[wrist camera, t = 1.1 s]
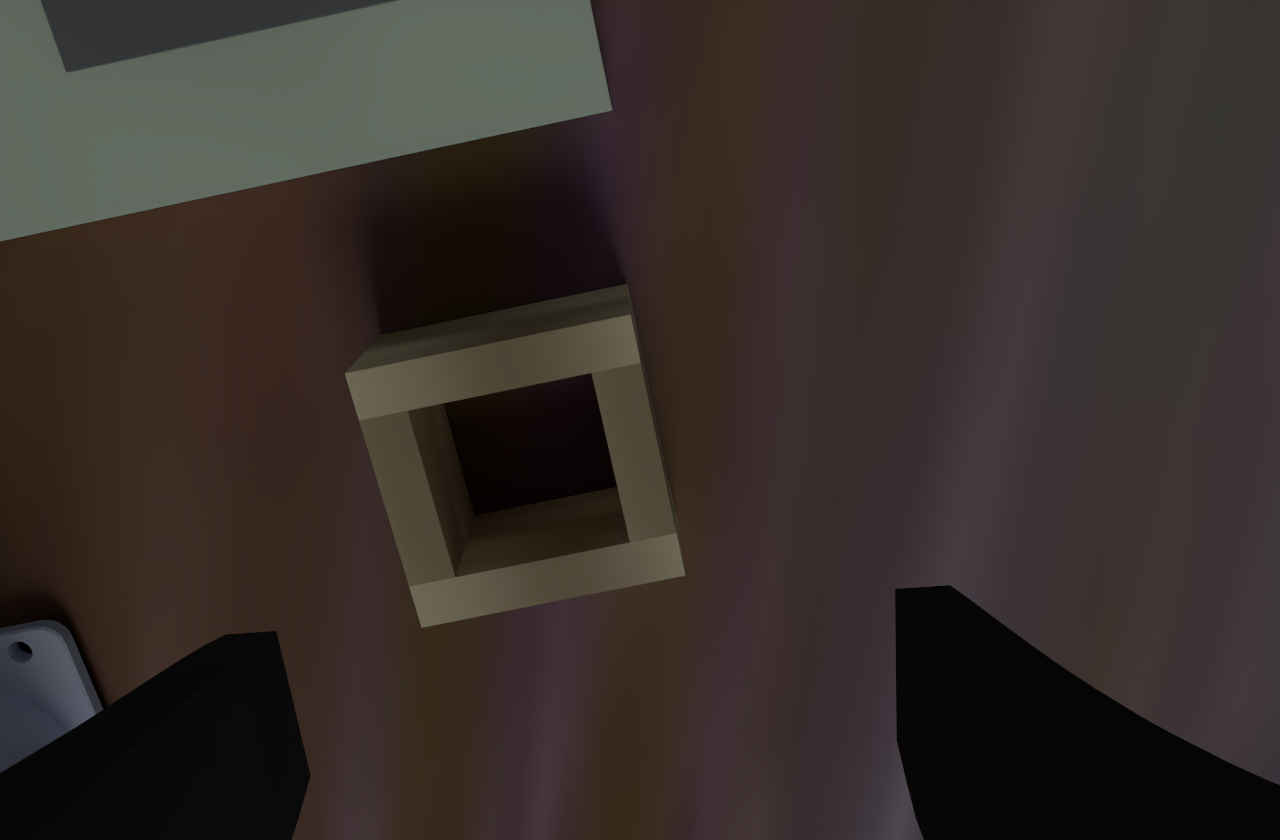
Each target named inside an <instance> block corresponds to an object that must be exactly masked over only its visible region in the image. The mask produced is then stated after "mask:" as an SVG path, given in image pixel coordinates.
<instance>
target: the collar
mask: <svg viewBox="0 0 1280 840" xmlns="http://www.w3.org/2000/svg"><path fill="white" fill-rule="evenodd" d="M589 373H592V377H593V382H594V386H595V390H596V395H597V399H598V404H599V408H600V412H601V417H602V421H603V426H604V430H605V435H606V439H607V443H608V448H609V452H610V457H611V461H612V465H613V470H614V474H615V479H616V483H617V487H614V488H609V489H604V490H599V491H594V492H589V493H584V494H579V495H574V496H569V497H564V498H559V499H554V500H549V501H544V502H539V503H534V504H529V505H524V506H519V507H514V508H509V509H505V510H500V511H495V512H490V513H485V514H480V515H475V516H474V512H473V509H472V505H471V501H470V498H469V494H468V490H467V487H466V483H465V479H464V476H463V472H462V468H461V465H460V461H459V458H458V454H457V450H456V447H455V443H454V439H453V436H452V432H451V428H450V425H449V421H448V418H447V414H446V410H445V407H444V403H447V402H452V401H457V400H462V399H467V398H472V397H477V396H481V395H486V394H491V393H496V392H501V391H506V390H511V389H516V388H520V387H525V386H530V385H535V384H540V383H545V382H550V381H555V380H559V379H564V378H569V377H574V376H579V375H584V374H589ZM345 376H346V379H347V382H348V386H349V389H350V392H351V396H352V399H353V402H354V405H355V409H356V412H357V415H358V419H359V422H360V425H361V429H362V432H363V435H364V438H365V442H366V445H367V448H368V452H369V455H370V458H371V462H372V465H373V468H374V472H375V475H376V478H377V481H378V485H379V488H380V491H381V495H382V498H383V501H384V505H385V508H386V511H387V514H388V518H389V521H390V524H391V528H392V531H393V534H394V538H395V541H396V544H397V547H398V551H399V554H400V557H401V561H402V564H403V567H404V571H405V574H406V577H407V580H408V584H409V587H410V590H411V594H412V597H413V600H414V604H415V607H416V610H417V614H418V617H419V620H420V623H421V627H427V626H432V625H437V624H442V623H447V622H452V621H458V620H463V619H468V618H473V617H478V616H483V615H488V614H493V613H498V612H503V611H508V610H513V609H518V608H523V607H528V606H533V605H538V604H543V603H548V602H554V601H559V600H564V599H569V598H574V597H579V596H584V595H589V594H594V593H599V592H604V591H609V590H614V589H619V588H624V587H629V586H634V585H639V584H644V583H650V582H655V581H660V580H665V579H670V578H675V577H680V576H685V569H684V563H683V557H682V550H681V544H680V538H679V531H678V525H677V519H676V513H675V508H674V503H673V498H672V494H671V489H670V484H669V479H668V475H667V470H666V465H665V460H664V456H663V451H662V446H661V441H660V436H659V432H658V427H657V422H656V417H655V413H654V408H653V403H652V398H651V394H650V389H649V384H648V379H647V374H646V370H645V365H644V360H643V355H642V351H641V346H640V341H639V336H638V332H637V327H636V322H635V317H634V312H633V308H632V303H631V298H630V293H629V289H628V284H624V285H619V286H614V287H609V288H605V289H600V290H595V291H590V292H585V293H580V294H576V295H571V296H566V297H561V298H556V299H552V300H547V301H542V302H537V303H532V304H528V305H523V306H518V307H513V308H508V309H504V310H499V311H494V312H489V313H484V314H480V315H475V316H470V317H465V318H460V319H455V320H451V321H446V322H441V323H436V324H431V325H427V326H422V327H417V328H412V329H407V330H403V331H398V332H393V333H388V334H383V335H380V336H379V337H378V338H377V339H376V340H375V341H374V342H373V343H372V344H371V345H370V347H369V348H368V349H367V350H366V351H365V352H364V353H363V354H362V355H361V356H360V358H359V359H358V360H357V361H356V362H355V363H354V364H353V365H352V366H351V367H350V368H349V370H348V371H347V372H346V373H345Z"/></svg>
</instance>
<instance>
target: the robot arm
mask: <svg viewBox="0 0 1280 840" xmlns="http://www.w3.org/2000/svg"><path fill="white" fill-rule="evenodd" d="M895 609H896V710H897V743H898V748H899V752H900V756H901V760H902V764H903V768H904V773H905V777H906V781H907V785H908V789H909V793H910V797H911V801H912V805H913V809H914V812H915V816H916V820H917V822H918V825H919V828H920V831H921V833H922V836H923V839H924V840H1280V785H1278V784H1275V783H1273V782H1270V781H1268V780H1266V779H1263V778H1261V777H1259V776H1257V775H1255V774H1252V773H1250V772H1248V771H1246V770H1244V769H1241V768H1239V767H1237V766H1235V765H1233V764H1231V763H1229V762H1226V761H1224V760H1222V759H1221V758H1219V757H1217V756H1215V755H1213V754H1211V753H1209V752H1207V751H1205V750H1203V749H1201V748H1199V747H1197V746H1195V745H1193V744H1191V743H1189V742H1187V741H1185V740H1183V739H1181V738H1179V737H1177V736H1175V735H1173V734H1171V733H1169V732H1168V731H1166V730H1164V729H1162V728H1160V727H1159V726H1157V725H1155V724H1153V723H1151V722H1150V721H1148V720H1146V719H1144V718H1143V717H1141V716H1139V715H1137V714H1136V713H1134V712H1133V711H1131V710H1129V709H1128V708H1126V707H1124V706H1123V705H1121V704H1120V703H1118V702H1116V701H1115V700H1113V699H1111V698H1110V697H1108V696H1106V695H1105V694H1103V693H1102V692H1100V691H1098V690H1097V689H1095V688H1093V687H1092V686H1090V685H1089V684H1087V683H1086V682H1084V681H1083V680H1081V679H1080V678H1078V677H1077V676H1075V675H1074V674H1072V673H1071V672H1069V671H1068V670H1066V669H1065V668H1063V667H1062V666H1060V665H1059V664H1057V663H1056V662H1054V661H1053V660H1052V659H1050V658H1049V657H1047V656H1046V655H1044V654H1043V653H1042V652H1040V651H1039V650H1037V649H1036V648H1035V647H1033V646H1032V645H1030V644H1029V643H1028V642H1026V641H1025V640H1024V639H1022V638H1021V637H1019V636H1018V635H1017V634H1015V633H1014V632H1013V631H1011V630H1010V629H1009V628H1007V627H1006V626H1005V625H1003V624H1002V623H1001V622H999V621H998V620H996V619H995V618H994V617H992V616H991V615H990V614H989V613H987V612H986V611H985V610H983V609H982V608H981V607H979V606H978V605H977V604H975V603H974V602H973V601H971V600H970V599H968V598H967V597H966V596H964V595H963V594H962V593H960V592H959V591H957V590H956V589H954V588H953V587H951V586H950V585H948V586H933V587H919V588H904V589H895ZM18 642H23V643H25V644H27V645H29V647H30V648H31V649H32V653H27V652H25V651H23V650H21V648H20V647H19V646H18ZM309 779H310V772H309V767H308V763H307V759H306V755H305V750H304V746H303V742H302V738H301V734H300V729H299V725H298V721H297V717H296V712H295V708H294V704H293V700H292V696H291V691H290V687H289V683H288V679H287V674H286V670H285V666H284V662H283V658H282V653H281V649H280V645H279V641H278V636H277V632H276V631H272V632H257V633H242V634H227V635H224V636H222V637H220V638H218V639H216V640H214V641H212V642H210V643H208V644H206V645H205V646H203V647H201V648H199V649H198V650H196V651H194V652H193V653H191V654H189V655H188V656H186V657H184V658H183V659H181V660H180V661H178V662H176V663H175V664H173V665H172V666H170V667H168V668H167V669H165V670H164V671H162V672H161V673H159V674H157V675H156V676H154V677H153V678H151V679H150V680H148V681H147V682H145V683H144V684H142V685H141V686H139V687H137V688H136V689H134V690H133V691H131V692H130V693H128V694H127V695H125V696H123V697H122V698H120V699H119V700H117V701H116V702H114V703H113V704H111V705H110V706H108V707H106V708H105V709H103V708H102V705H101V703H100V701H99V698H98V696H97V694H96V691H95V689H94V686H93V684H92V682H91V679H90V677H89V675H88V672H87V670H86V667H85V665H84V663H83V660H82V658H81V656H80V653H79V651H78V648H77V646H76V644H75V641H74V639H73V637H72V635H71V633H70V632H69V630H68V629H67V628H66V627H65V626H64V625H62V624H61V623H59V622H56V621H53V620H39V621H34V622H29V623H24V624H19V625H14V626H9V627H4V628H0V840H291V839H292V836H293V833H294V830H295V827H296V824H297V821H298V818H299V814H300V811H301V807H302V804H303V800H304V797H305V793H306V790H307V786H308V783H309Z"/></svg>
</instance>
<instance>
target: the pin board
mask: <svg viewBox="0 0 1280 840" xmlns="http://www.w3.org/2000/svg"><path fill="white" fill-rule="evenodd" d="M607 111H612V107H611V102H610V97H609V92H608V87H607V82H606V77H605V73H604V68H603V63H602V58H601V53H600V48H599V43H598V38H597V33H596V28H595V23H594V19H593V14H592V9H591V4H590V0H0V241H4V240H9V239H13V238H18V237H23V236H27V235H32V234H37V233H41V232H46V231H51V230H55V229H60V228H65V227H69V226H74V225H79V224H83V223H88V222H93V221H97V220H102V219H107V218H111V217H116V216H121V215H125V214H130V213H135V212H139V211H144V210H149V209H153V208H158V207H163V206H168V205H172V204H177V203H182V202H186V201H191V200H196V199H200V198H205V197H210V196H214V195H219V194H224V193H228V192H233V191H238V190H242V189H247V188H252V187H256V186H261V185H266V184H270V183H275V182H280V181H284V180H289V179H294V178H298V177H303V176H308V175H313V174H317V173H322V172H327V171H331V170H336V169H341V168H345V167H350V166H355V165H359V164H364V163H369V162H373V161H378V160H383V159H387V158H392V157H397V156H401V155H406V154H411V153H415V152H420V151H425V150H429V149H434V148H439V147H443V146H448V145H453V144H457V143H462V142H467V141H472V140H476V139H481V138H486V137H490V136H495V135H500V134H504V133H509V132H514V131H518V130H523V129H528V128H532V127H537V126H542V125H546V124H551V123H556V122H560V121H565V120H570V119H574V118H579V117H584V116H588V115H593V114H598V113H602V112H607Z"/></svg>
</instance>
